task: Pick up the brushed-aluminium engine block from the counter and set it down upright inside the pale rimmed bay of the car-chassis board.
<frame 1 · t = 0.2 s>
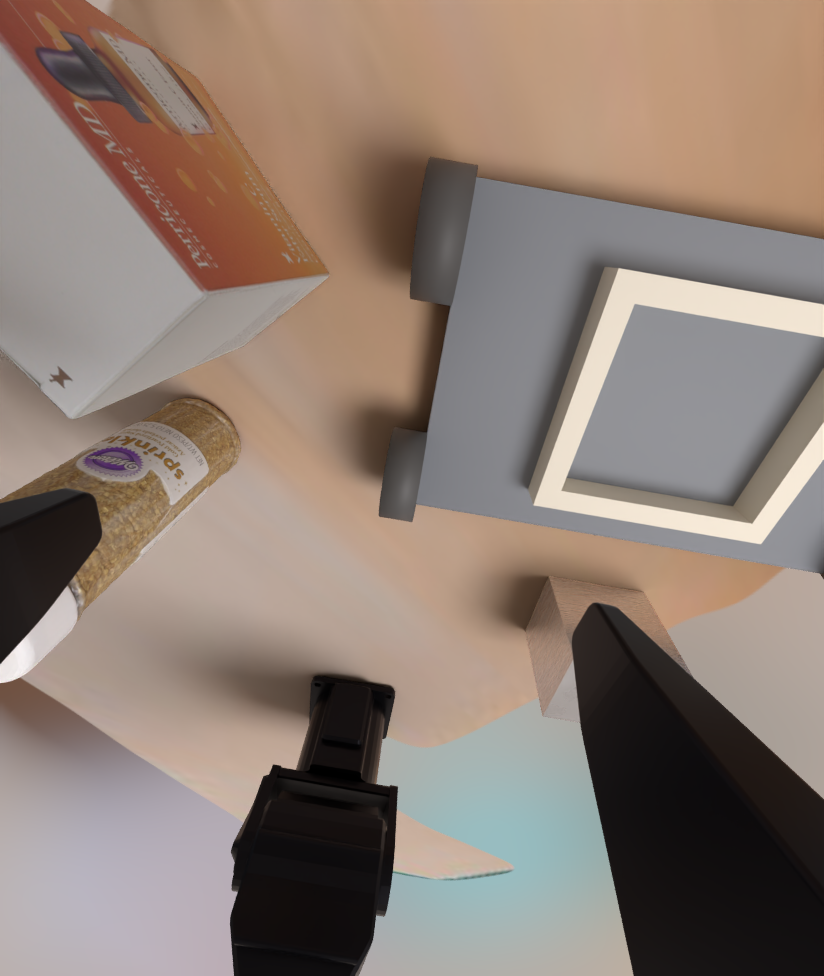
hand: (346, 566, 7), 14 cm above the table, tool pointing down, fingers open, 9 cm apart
chassis: (667, 403, 20), on the table
sprinkles bottle: (203, 435, 23), on the table
small box: (225, 228, 18), on the table
engine block: (581, 611, 27), on the table
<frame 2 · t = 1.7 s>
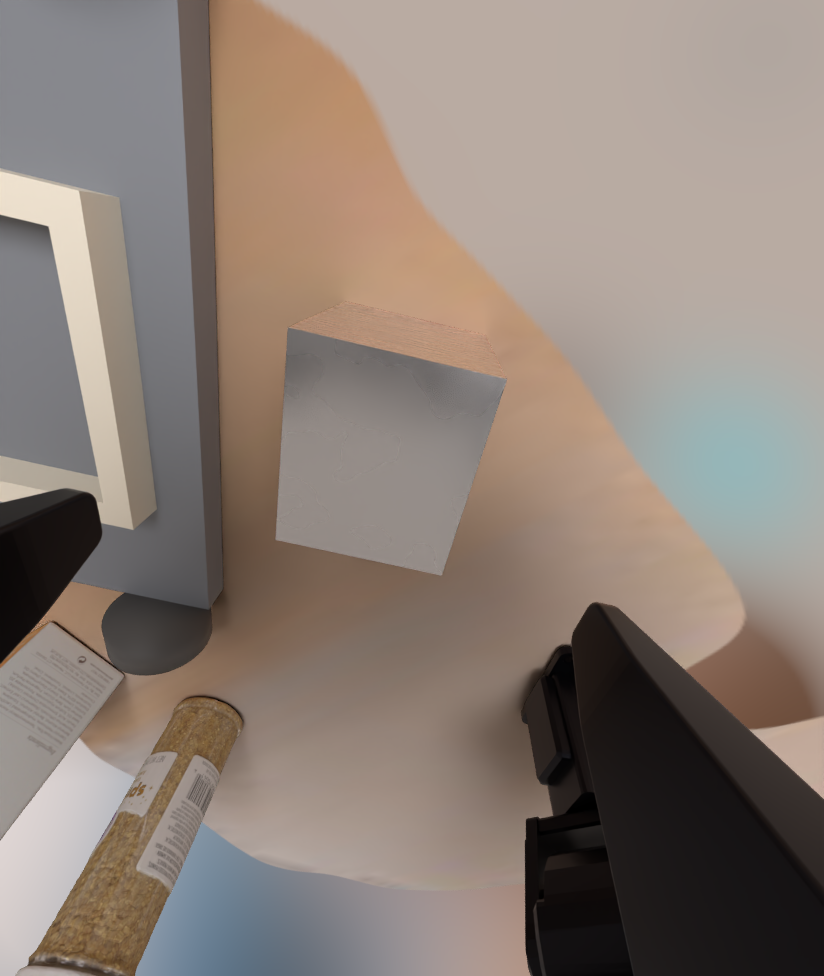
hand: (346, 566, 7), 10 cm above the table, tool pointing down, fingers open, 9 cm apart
chassis: (35, 341, 16), on the table
sprinkles bottle: (213, 712, 28), on the table
small box: (56, 662, 26), on the table
engine block: (399, 399, 16), on the table
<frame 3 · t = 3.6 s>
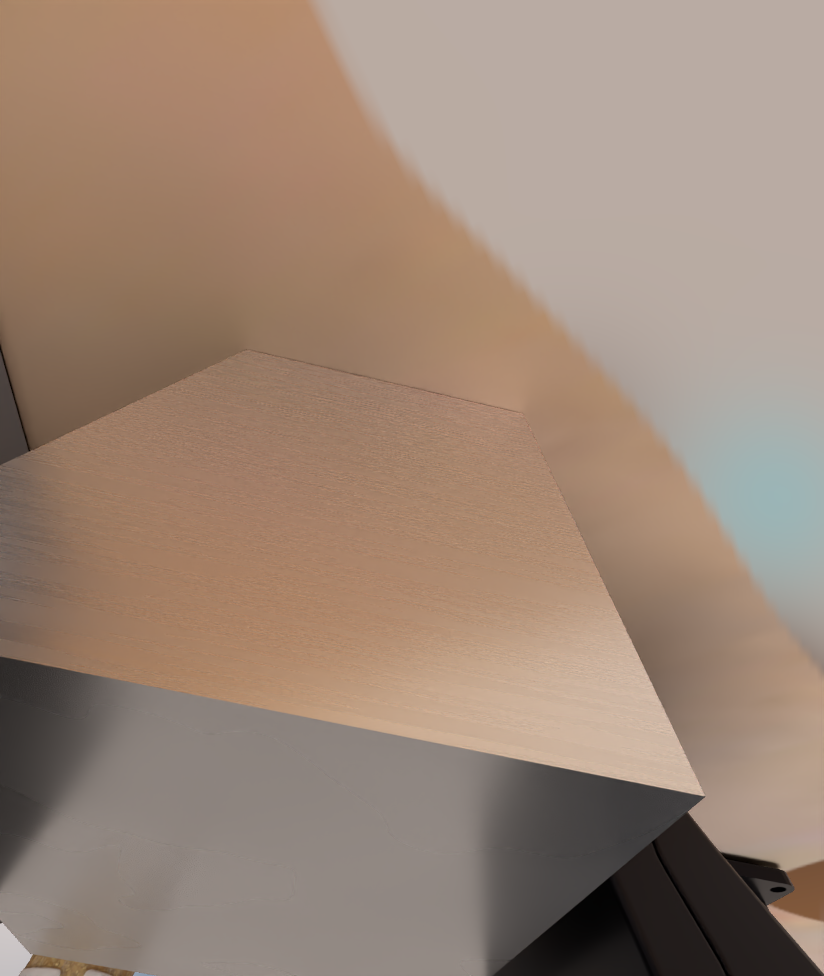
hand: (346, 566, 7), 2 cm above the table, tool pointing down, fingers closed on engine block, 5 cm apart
sprinkles bottle: (133, 870, 21), on the table
engine block: (361, 518, 9), on the table, touching gripper
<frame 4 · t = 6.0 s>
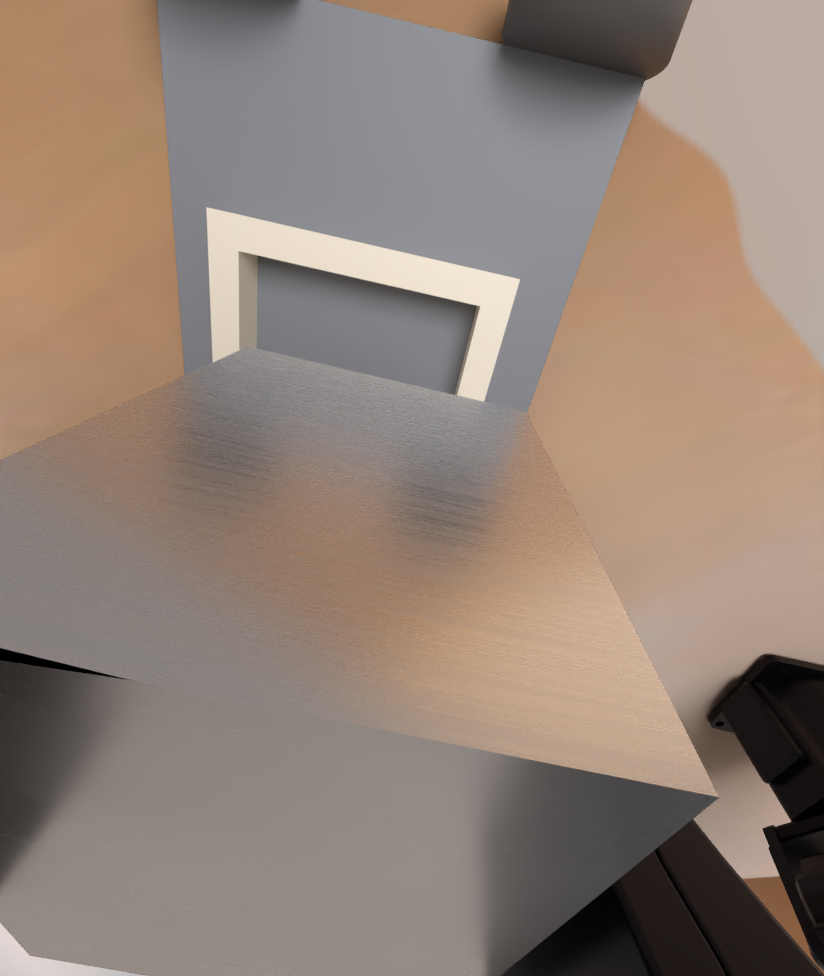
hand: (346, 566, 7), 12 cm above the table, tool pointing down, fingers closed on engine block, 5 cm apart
chassis: (359, 388, 18), on the table
engine block: (363, 517, 9), point 11 cm above the table, touching gripper
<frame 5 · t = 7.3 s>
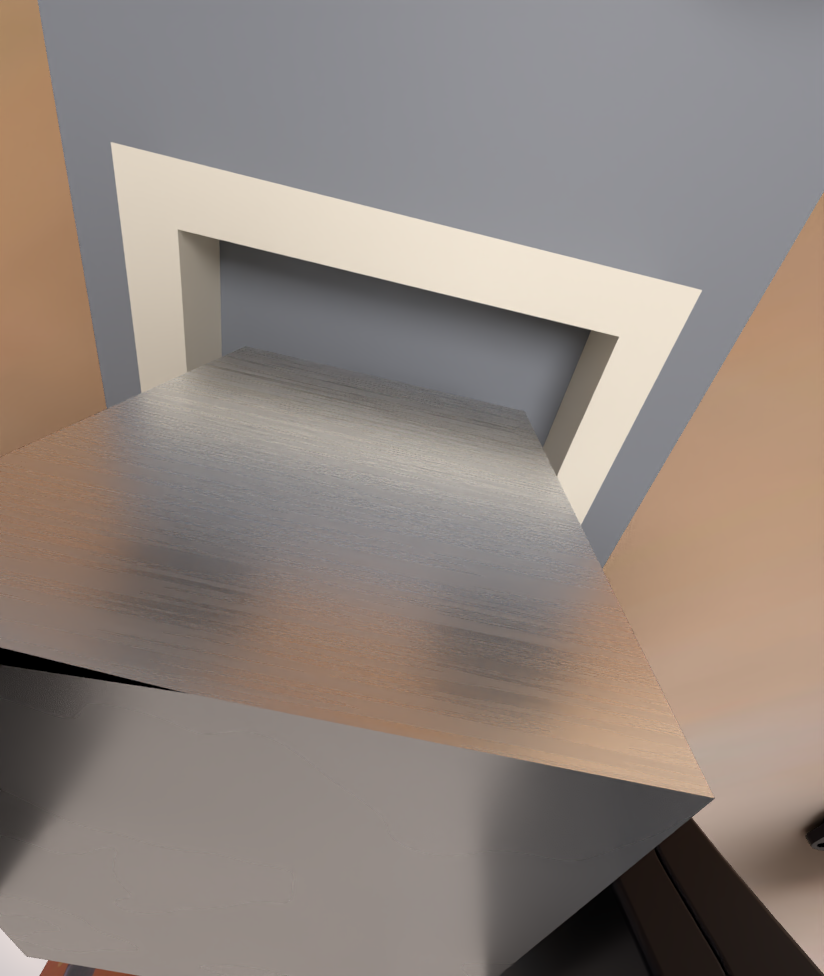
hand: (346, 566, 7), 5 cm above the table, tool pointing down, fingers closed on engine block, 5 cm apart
chassis: (382, 444, 12), on the table
small box: (245, 768, 23), on the table
engine block: (361, 517, 9), point 4 cm above the table, touching gripper
when the fingers open (4 cm above the table, at t = 8.3 s): engine block drops 1 cm, resting on chassis.
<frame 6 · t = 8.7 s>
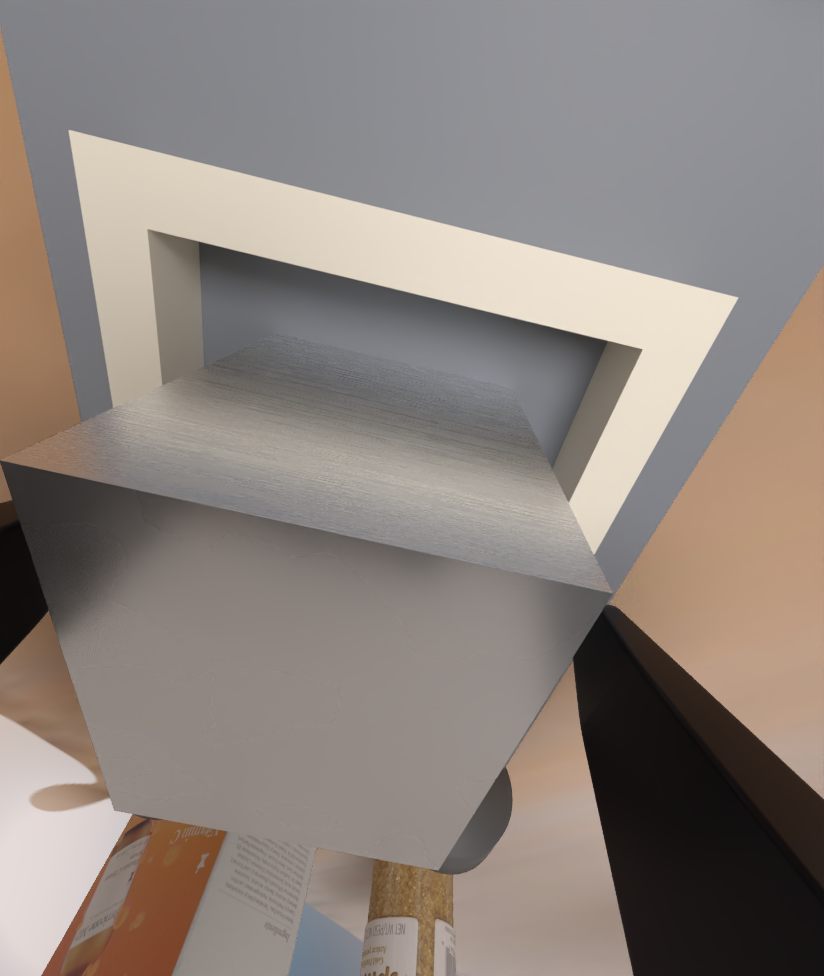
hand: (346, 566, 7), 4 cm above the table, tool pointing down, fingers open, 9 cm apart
chassis: (379, 459, 11), on the table
sprinkles bottle: (415, 839, 23), on the table
small box: (239, 788, 22), on the table
engine block: (372, 484, 10), point 1 cm above the table, touching chassis
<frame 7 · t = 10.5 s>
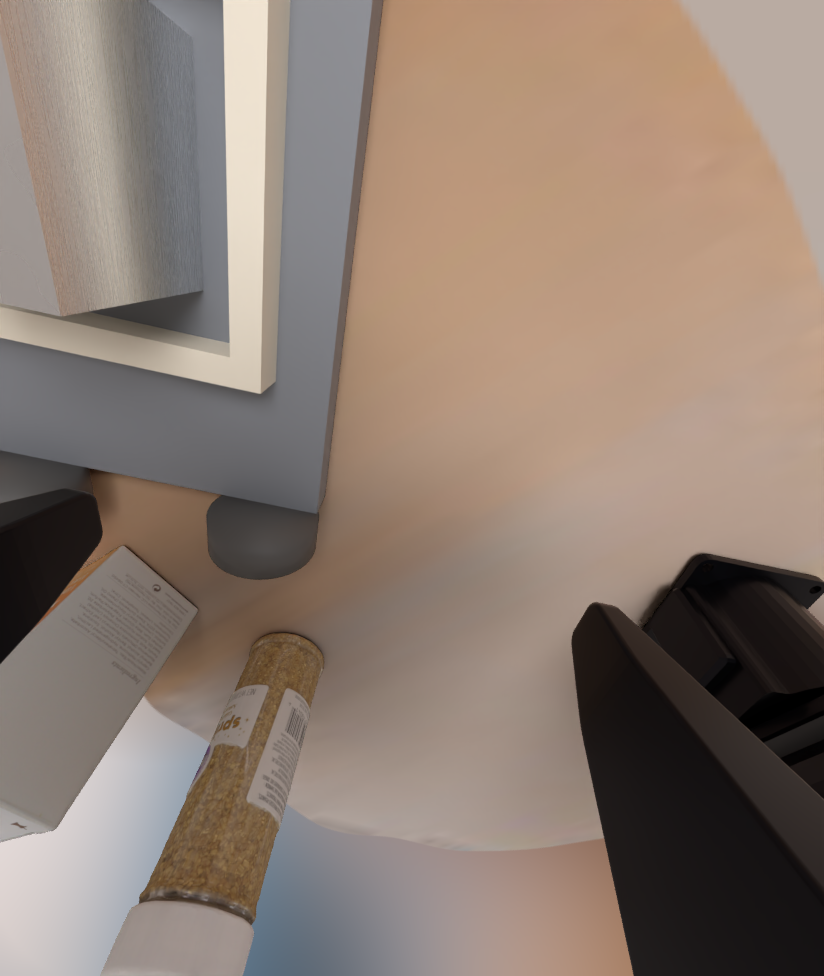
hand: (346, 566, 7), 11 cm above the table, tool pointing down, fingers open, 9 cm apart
chassis: (143, 168, 13), on the table
sprinkles bottle: (290, 652, 25), on the table
small box: (121, 598, 24), on the table
engine block: (112, 158, 12), point 1 cm above the table, touching chassis
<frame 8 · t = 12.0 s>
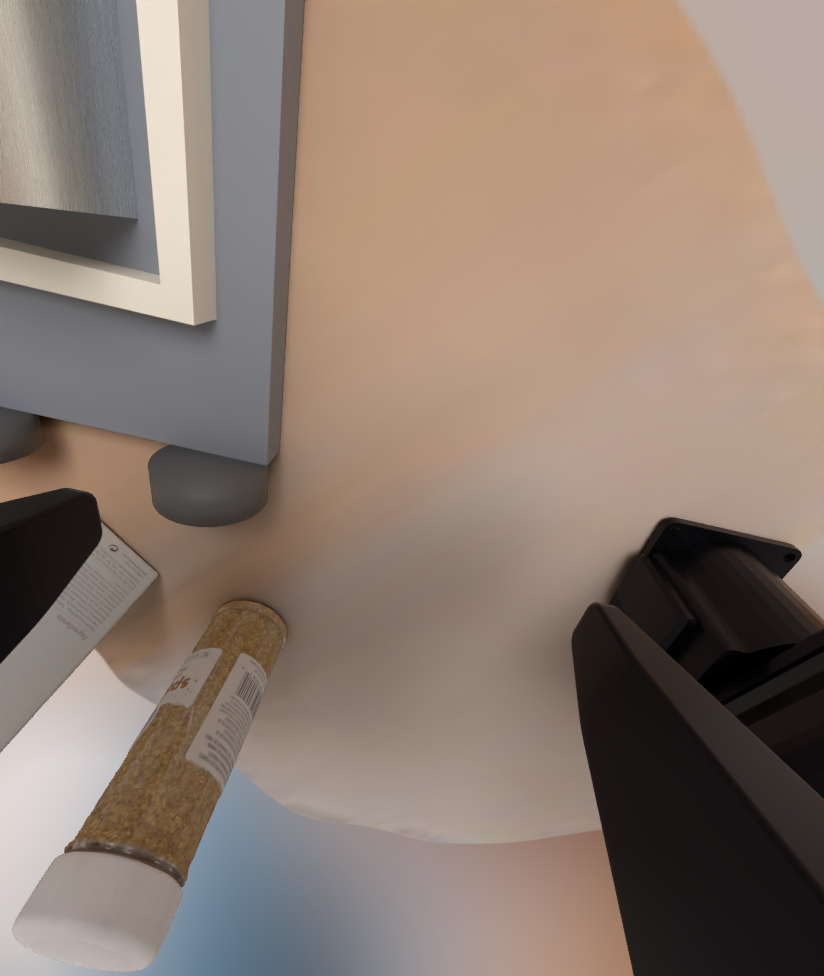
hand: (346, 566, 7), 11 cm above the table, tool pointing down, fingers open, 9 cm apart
chassis: (78, 94, 13), on the table
sprinkles bottle: (254, 622, 25), on the table
small box: (82, 561, 24), on the table
engine block: (38, 74, 12), point 1 cm above the table, touching chassis
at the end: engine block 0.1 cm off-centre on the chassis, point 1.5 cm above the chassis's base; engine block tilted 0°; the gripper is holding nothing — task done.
